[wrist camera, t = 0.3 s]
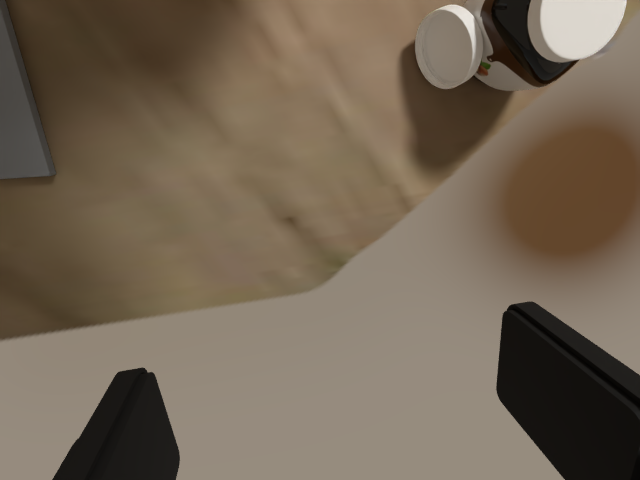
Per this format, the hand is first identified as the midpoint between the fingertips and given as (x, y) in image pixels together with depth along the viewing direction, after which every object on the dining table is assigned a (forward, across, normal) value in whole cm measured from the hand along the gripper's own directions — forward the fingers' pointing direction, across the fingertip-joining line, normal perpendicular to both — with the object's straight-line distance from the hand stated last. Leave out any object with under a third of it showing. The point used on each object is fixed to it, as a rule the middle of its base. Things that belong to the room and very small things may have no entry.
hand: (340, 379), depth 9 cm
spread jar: (+31, -21, -11) cm, 39 cm away
